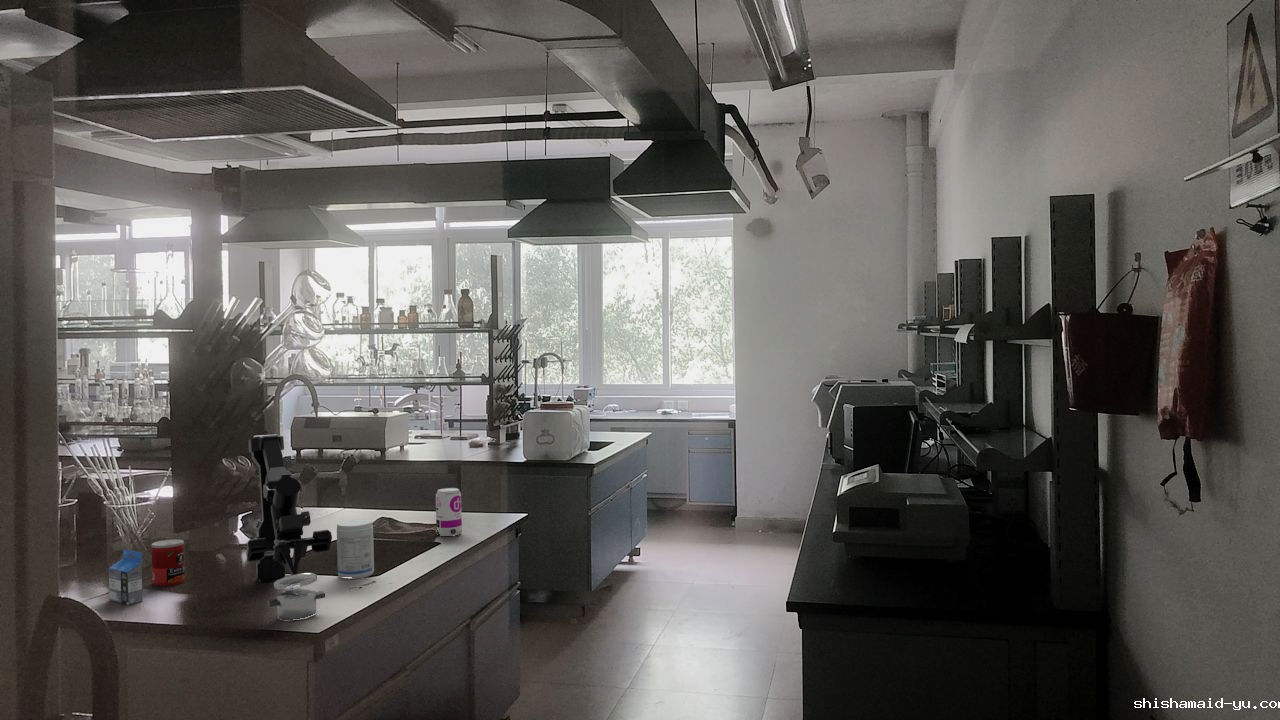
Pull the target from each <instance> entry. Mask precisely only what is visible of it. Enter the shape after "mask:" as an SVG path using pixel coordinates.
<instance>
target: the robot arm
mask: <svg viewBox="0 0 1280 720" xmlns="http://www.w3.org/2000/svg"><path fill="white" fill-rule="evenodd" d="M284 439H285V438H284V436H283V435H282V436H281V435H279V434H277V433H273V434H261V435H260V434H259V435H253V437H252V438H249V440H248V452H249V454H251V460H252V461H253V462H254V464H255V465H256V466H257V468H258V476H259V477H258V478H259V479H258V480H259V490H260V491H259V492H260V493H259V494H260V507H261V508H260V509H261V510H260V511H261V523H260V524H259V526H258V528H257V530H256V536H255V537H254V538H251V539H249V540H248V541H247V542H246V543H247V544H246V549H245V550H246V552H245V554H246V555H245V556H246V561H247V562H250V563H251V562H256V563H255V572H256V573H255V574H256V575H255V576H256V577H255V578H256V579H257V580H258V581H259V582H260V583H261V584H262V583H264V584H265V583H269V582H275V581H277V580H279V579H281V578H284V576H286V571H288V573H289V574H290V575H295V574H298V569H299V564H300V561H301V559H302V558H304V557H306V555H307V550H308V547H311V551H313V552H314V553H322V552H328V551H329V550H330V549H331V545H332V540H333V535H332V532H331V531H330V530H329V529H323V530H322V529H321V530H314V531H313V532H312V536H309V537H304V538H303V537H302V536H303V535H304V530H303V529H304V527H305V526H310V525H311V514H310V510H308V511H307V510H306V511H301V512H300V513H298V510H297V506H298V504H299V498H300V494H301V493H300V492H302V491H303V490H302V489H303V487H302V486H301V483H300V482H299V480H298V479H296V478H295V477H294V476H293V473H292V472H290V471H289V470H288V469H286V465H285V461H284V456H283V452H282V451H284V450H285V443H284ZM292 549H293V554H292V557H291V550H292Z"/></svg>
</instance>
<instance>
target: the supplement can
mask: <svg viewBox="0 0 1280 720" xmlns="http://www.w3.org/2000/svg"><path fill="white" fill-rule="evenodd" d="M462 515H463V514H462V492H461V491H460V488H457V487H445V488H439V489H437V491H436V493H435V521H436V524H435V525H436V527H435V529H436V528H437V530H438V532H439V534H440V535H442V536H453V535H458V536H460V535H461V533H463V532H462V531H463V526H462V525H463V523H462V521H463V520H462V518H463V517H462ZM437 530H436V531H437ZM459 534H460V535H459ZM453 537H454V536H453Z"/></svg>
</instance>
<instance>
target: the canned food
mask: <svg viewBox="0 0 1280 720" xmlns="http://www.w3.org/2000/svg"><path fill="white" fill-rule="evenodd" d="M150 546H151V548H150V549H151V553H150V554H151V555H150V556H151V578H152V579H151V580H152V584H153V585H154V586H155V587H171V586H177V585H180V584H182V583H184V581H185V579H186V569H185V568H186V567H185V565H186V563H185V559H186V558H185V541H184V540H183V539H178V538H177V539H175V538H173V539H172V538H170V539H162V540H159V541H155V542H153V543H151V545H150Z"/></svg>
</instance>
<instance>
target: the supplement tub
mask: <svg viewBox="0 0 1280 720" xmlns="http://www.w3.org/2000/svg"><path fill="white" fill-rule="evenodd" d="M374 549H375V548H374V525H373V520H371V519H369V518H368V519H367V518H354V519H346V520H342V521H341V520H340V521H339V522H337V523H336V551H337V552H336V553H337V555H336V556H337V575H338V577H339V578H340V577H352V578H359V579H363V578H367V577H370V576H372V575H373V573H374V572H375V559H374V558H375V553H374V552H375V551H374ZM343 580H349V579H348V578H346V579H345V578H344V579H343Z"/></svg>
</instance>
